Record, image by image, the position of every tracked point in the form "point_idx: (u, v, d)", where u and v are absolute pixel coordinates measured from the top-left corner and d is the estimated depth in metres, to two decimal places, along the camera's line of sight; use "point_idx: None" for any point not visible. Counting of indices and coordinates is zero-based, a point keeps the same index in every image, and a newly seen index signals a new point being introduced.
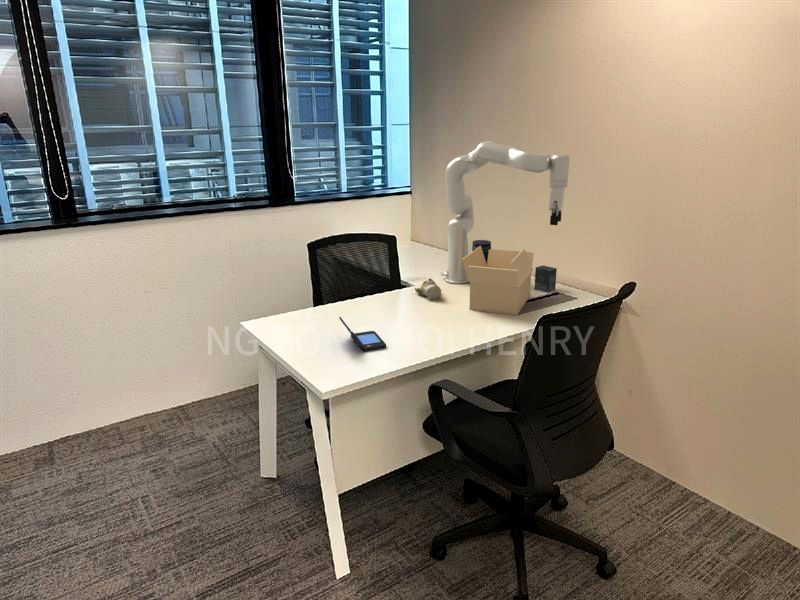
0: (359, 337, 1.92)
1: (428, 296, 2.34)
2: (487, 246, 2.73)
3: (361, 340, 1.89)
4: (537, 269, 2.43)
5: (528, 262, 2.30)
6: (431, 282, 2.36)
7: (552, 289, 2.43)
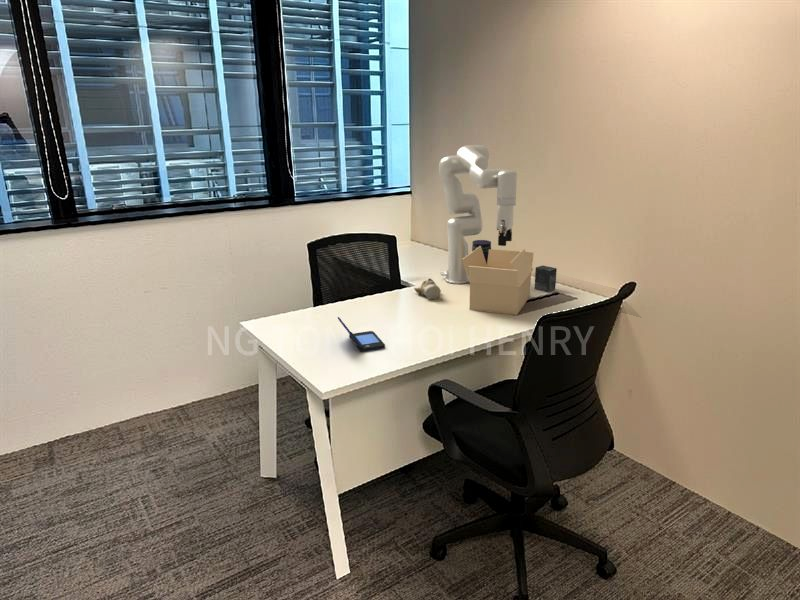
0: (358, 337, 1.92)
1: (427, 296, 2.34)
2: (487, 246, 2.73)
3: (360, 340, 1.89)
4: (537, 269, 2.43)
5: (528, 262, 2.30)
6: (430, 282, 2.36)
7: (552, 289, 2.43)
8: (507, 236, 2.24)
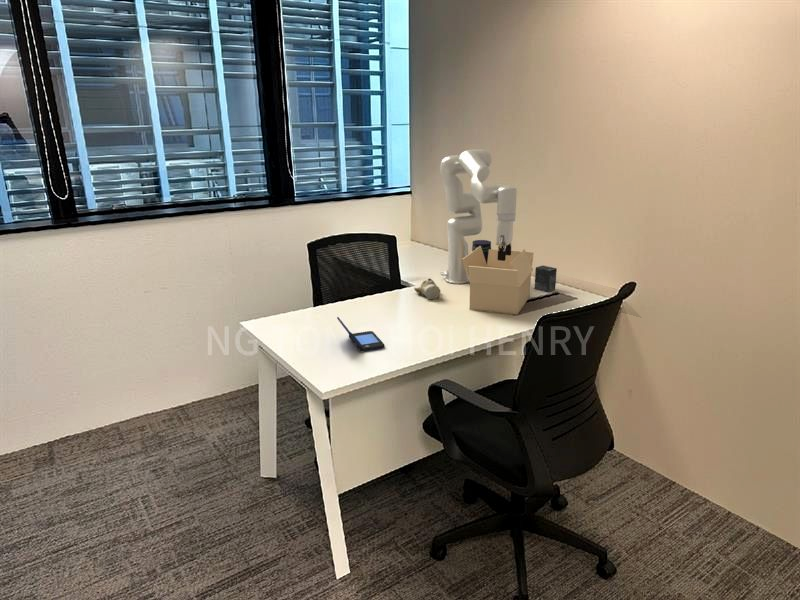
0: (357, 337, 1.92)
1: (427, 296, 2.34)
2: (487, 246, 2.73)
3: (359, 340, 1.89)
4: (537, 269, 2.43)
5: (528, 262, 2.30)
6: (430, 282, 2.36)
7: (552, 289, 2.43)
8: (506, 250, 2.26)
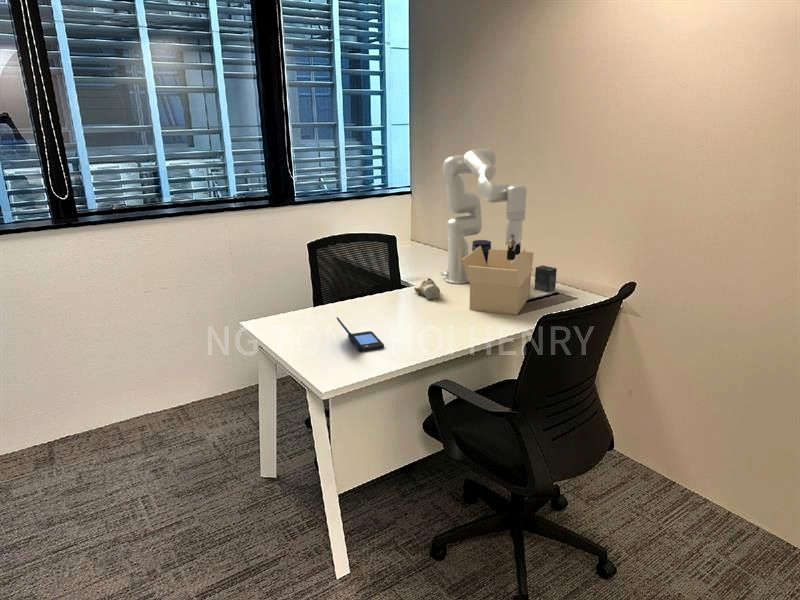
0: (357, 337, 1.92)
1: (427, 296, 2.34)
2: (487, 246, 2.73)
3: (359, 340, 1.89)
4: (537, 269, 2.43)
5: (528, 262, 2.30)
6: (430, 282, 2.36)
7: (552, 289, 2.43)
8: (516, 250, 2.24)
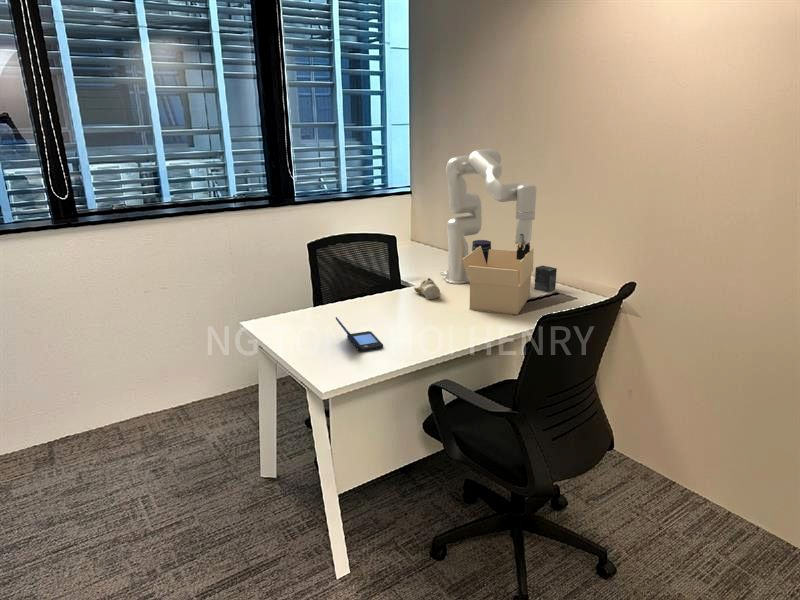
0: (356, 337, 1.92)
1: (426, 296, 2.35)
2: (487, 246, 2.73)
3: (358, 340, 1.89)
4: (537, 269, 2.43)
5: (532, 262, 2.29)
6: (430, 282, 2.36)
7: (552, 289, 2.43)
8: (525, 249, 2.22)
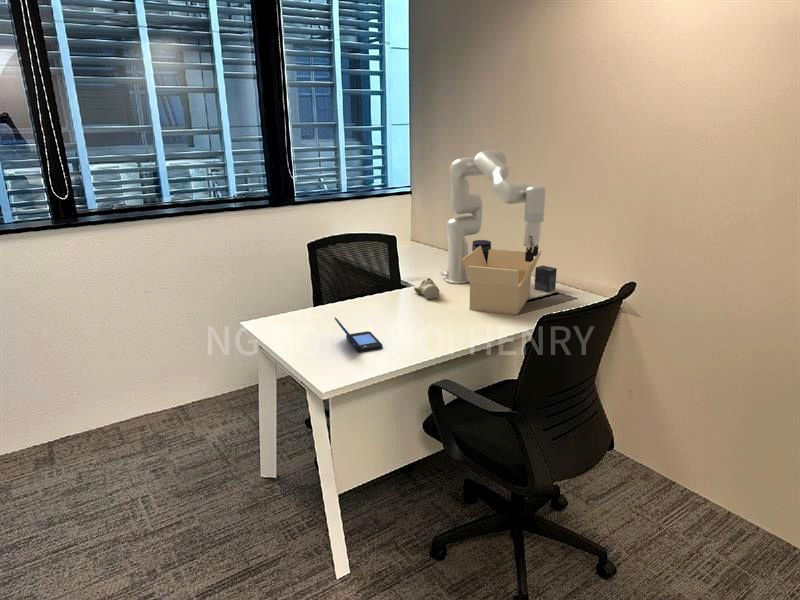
0: (355, 338, 1.92)
1: (426, 295, 2.35)
2: (487, 246, 2.73)
3: (357, 341, 1.89)
4: (537, 269, 2.43)
5: (535, 263, 2.28)
6: (429, 282, 2.36)
7: (552, 289, 2.43)
8: (533, 251, 2.21)
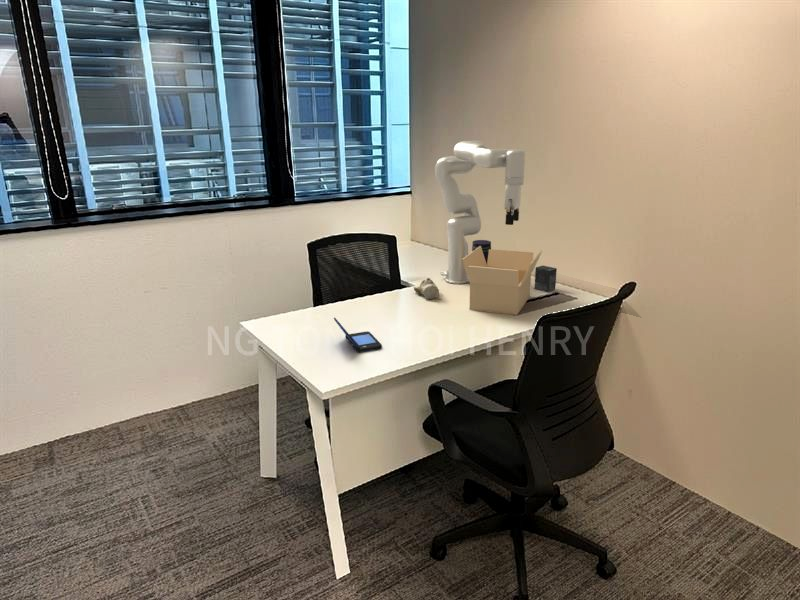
0: (354, 338, 1.92)
1: (425, 295, 2.35)
2: (487, 246, 2.73)
3: (356, 341, 1.89)
4: (537, 269, 2.43)
5: (535, 263, 2.28)
6: (429, 282, 2.36)
7: (552, 289, 2.43)
8: (514, 216, 2.26)
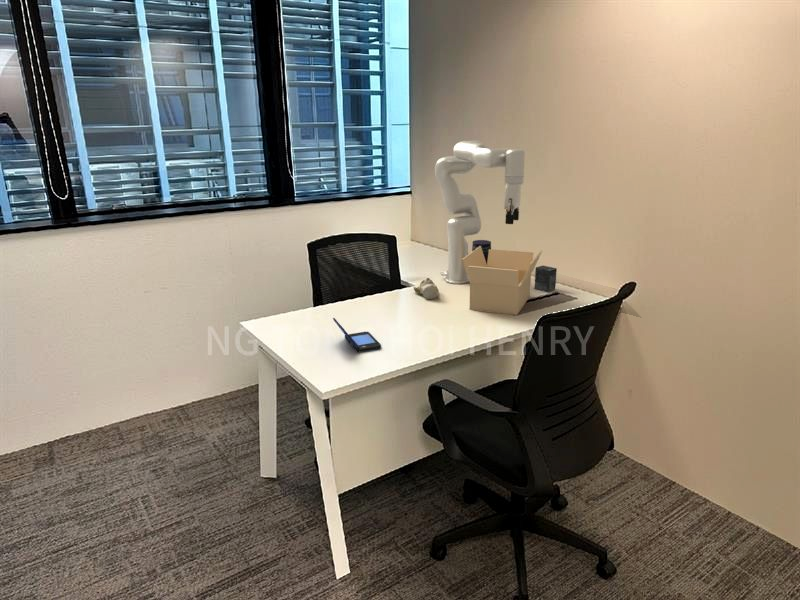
0: (353, 338, 1.92)
1: (425, 295, 2.35)
2: (487, 246, 2.73)
3: (356, 341, 1.89)
4: (537, 269, 2.43)
5: (535, 263, 2.28)
6: (429, 281, 2.37)
7: (552, 289, 2.43)
8: (514, 215, 2.26)
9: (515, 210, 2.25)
